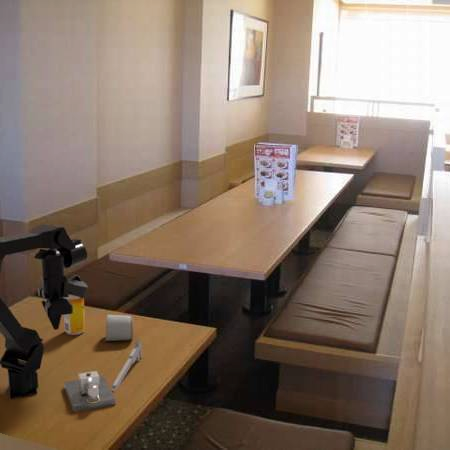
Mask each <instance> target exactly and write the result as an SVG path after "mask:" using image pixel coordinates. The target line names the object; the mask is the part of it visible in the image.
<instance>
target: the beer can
mask: <svg viewBox="0 0 450 450" xmlns="http://www.w3.org/2000/svg"><path fill="white" fill-rule="evenodd" d="M62 298H64V297H62ZM65 299H68V300H69V301H70V302H71V304H72V306H73V313H72V314H66V315H63V320H64V321H63V323H64V325H63V326H64V332H66V334H67V335H71V336H77V335H81V334H83V333H84V331H85V330H86V325H85V324H86V323H85V322H86V321H85V319H86V317H85V298H80V297H78V296H73V295H69V297H65Z"/></svg>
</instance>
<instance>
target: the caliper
mask: <svg viewBox="0 0 450 450" xmlns="http://www.w3.org/2000/svg"><path fill="white" fill-rule="evenodd" d="M142 358H143V346H142V342H141V340H140V339H136V341H134V347H133V349H132V350H131V352H130V354H129V356H128V358H127V360H126V362H125V363H124V365H123V366H122V369H121V371H120V372H119V374H118V375H117V377H116V378H115V380H114V382H113V384H112V387H111V388H110V389H111V391H112V393H114V392H116V390H117V389H119V387H120V385H121V383H122V382H123V380H124V378H125V377H126V375H127V373H128V371H129V370H130V368H131V367H132V365H134V363H135V362H140V361H141V360H140V359H142Z"/></svg>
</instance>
